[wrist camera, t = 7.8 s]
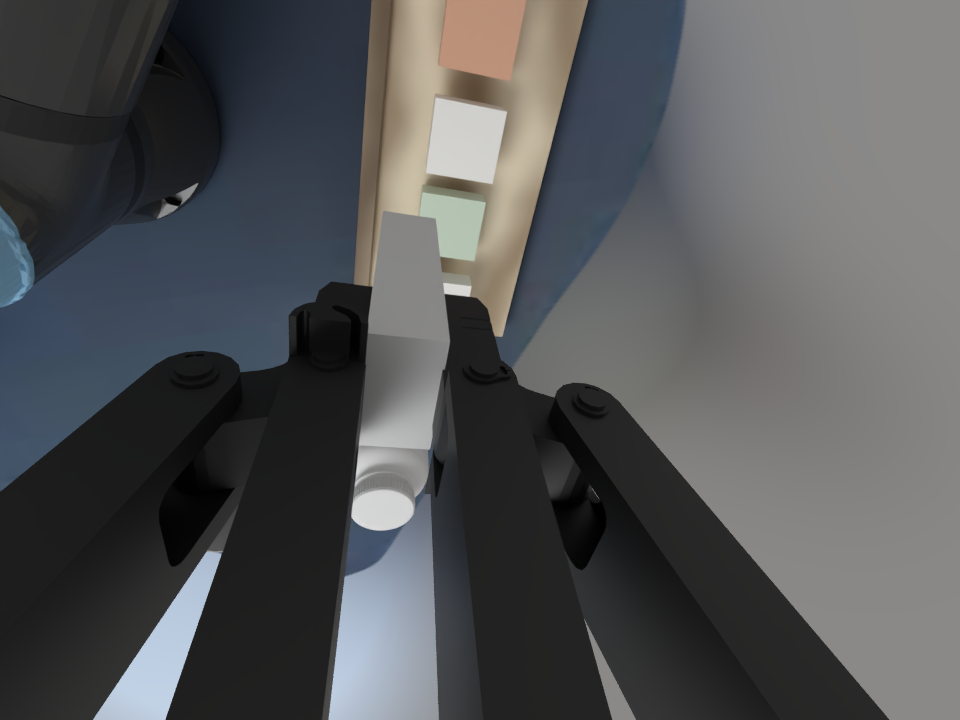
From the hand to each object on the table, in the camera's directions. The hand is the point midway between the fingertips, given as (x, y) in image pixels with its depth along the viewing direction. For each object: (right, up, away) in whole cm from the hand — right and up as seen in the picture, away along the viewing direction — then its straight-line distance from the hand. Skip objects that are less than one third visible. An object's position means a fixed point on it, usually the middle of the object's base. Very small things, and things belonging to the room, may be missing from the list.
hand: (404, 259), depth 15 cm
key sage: (0, +8, +26) cm, 27 cm away
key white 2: (+1, +13, +21) cm, 25 cm away
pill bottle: (-8, -7, +39) cm, 40 cm away
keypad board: (0, +13, +26) cm, 29 cm away
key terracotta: (+2, +19, +19) cm, 27 cm away
